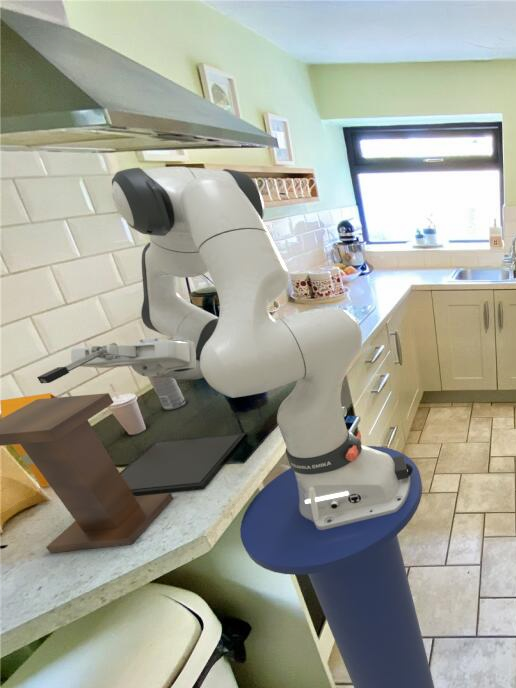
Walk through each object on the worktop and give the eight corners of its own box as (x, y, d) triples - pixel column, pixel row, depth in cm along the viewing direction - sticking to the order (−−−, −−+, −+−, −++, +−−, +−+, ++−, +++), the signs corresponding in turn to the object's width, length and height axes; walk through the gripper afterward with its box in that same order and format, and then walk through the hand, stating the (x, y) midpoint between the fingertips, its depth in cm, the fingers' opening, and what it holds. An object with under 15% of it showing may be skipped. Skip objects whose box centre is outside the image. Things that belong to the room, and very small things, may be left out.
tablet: (247, 436, 106) (246, 432, 106) (204, 489, 88) (202, 485, 88) (157, 444, 105) (155, 440, 104) (94, 500, 87) (91, 496, 86)
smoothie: (145, 422, 115) (120, 376, 109) (157, 427, 112) (132, 381, 106) (117, 434, 110) (89, 387, 104) (129, 439, 107) (101, 392, 101)
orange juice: (64, 466, 98) (13, 392, 89) (108, 458, 100) (63, 385, 91) (41, 487, 92) (-16, 409, 82) (89, 478, 94) (38, 401, 84)
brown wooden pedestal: (173, 498, 86) (114, 392, 75) (132, 544, 76) (56, 429, 64) (102, 505, 85) (31, 399, 74) (50, 553, 75) (-42, 438, 63)
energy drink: (179, 399, 126) (162, 363, 120) (190, 403, 124) (172, 366, 118) (160, 408, 122) (141, 371, 116) (170, 411, 120) (151, 374, 114)
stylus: (119, 347, 84) (116, 341, 84) (49, 383, 70) (45, 376, 69) (112, 347, 84) (109, 342, 83) (40, 383, 70) (36, 377, 69)
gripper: (106, 347, 94) (40, 338, 80) (201, 340, 95) (153, 329, 81) (107, 375, 93) (42, 370, 79) (203, 368, 95) (154, 361, 81)
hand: (99, 350), depth 80 cm, fingers closed on stylus, 1 cm apart
